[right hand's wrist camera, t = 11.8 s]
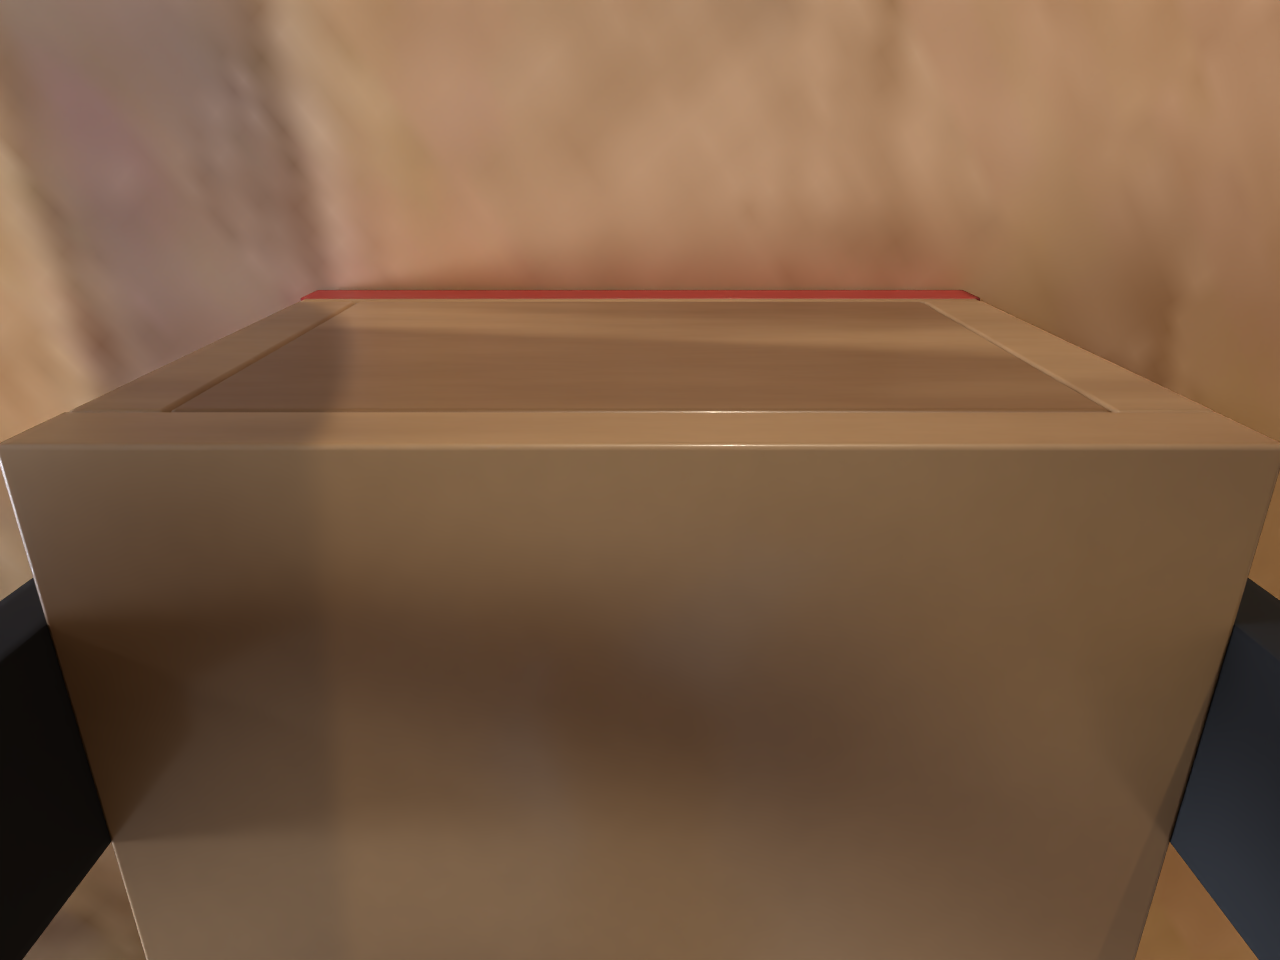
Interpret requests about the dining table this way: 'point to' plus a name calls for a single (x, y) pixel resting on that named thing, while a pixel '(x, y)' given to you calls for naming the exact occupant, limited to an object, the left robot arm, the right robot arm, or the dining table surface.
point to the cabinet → (640, 627)
